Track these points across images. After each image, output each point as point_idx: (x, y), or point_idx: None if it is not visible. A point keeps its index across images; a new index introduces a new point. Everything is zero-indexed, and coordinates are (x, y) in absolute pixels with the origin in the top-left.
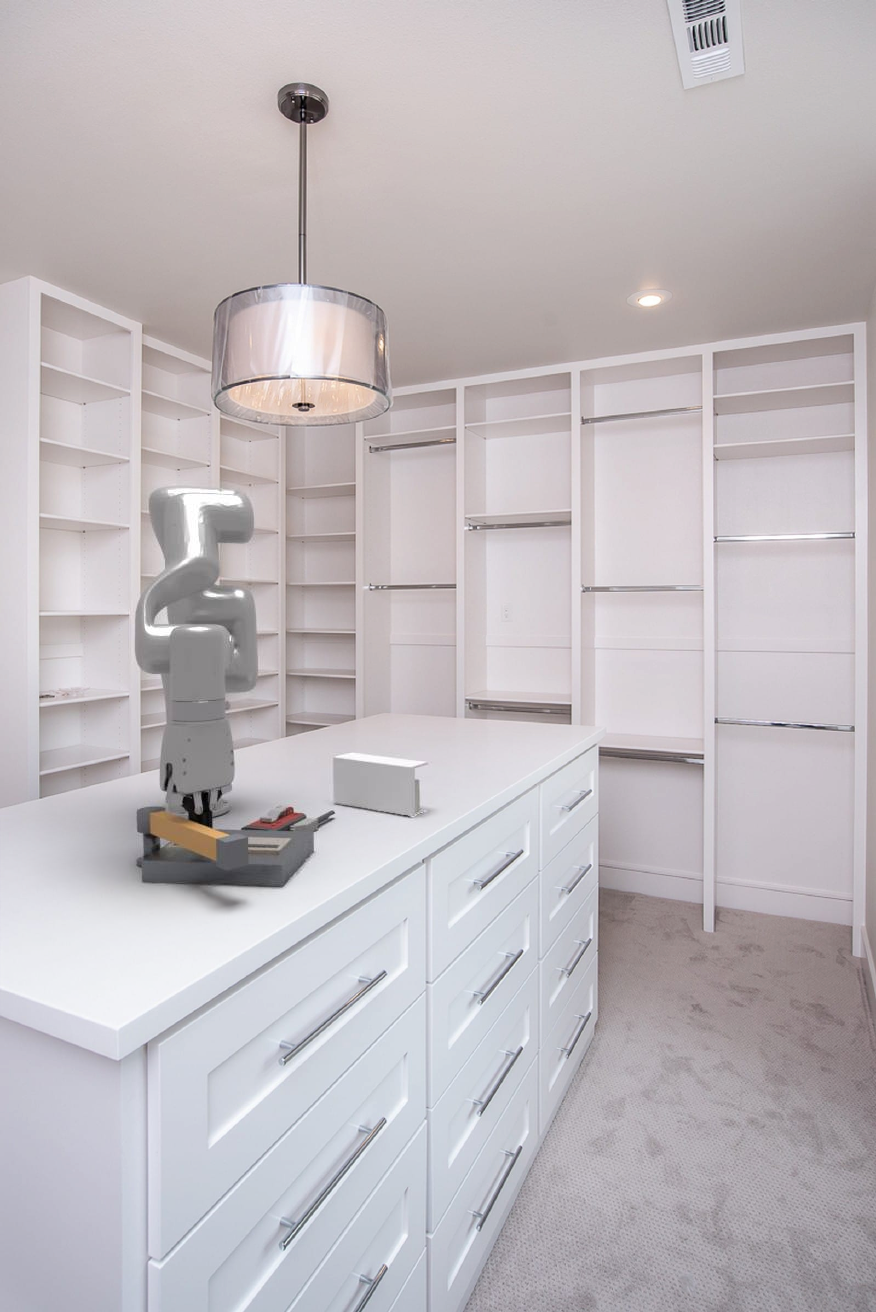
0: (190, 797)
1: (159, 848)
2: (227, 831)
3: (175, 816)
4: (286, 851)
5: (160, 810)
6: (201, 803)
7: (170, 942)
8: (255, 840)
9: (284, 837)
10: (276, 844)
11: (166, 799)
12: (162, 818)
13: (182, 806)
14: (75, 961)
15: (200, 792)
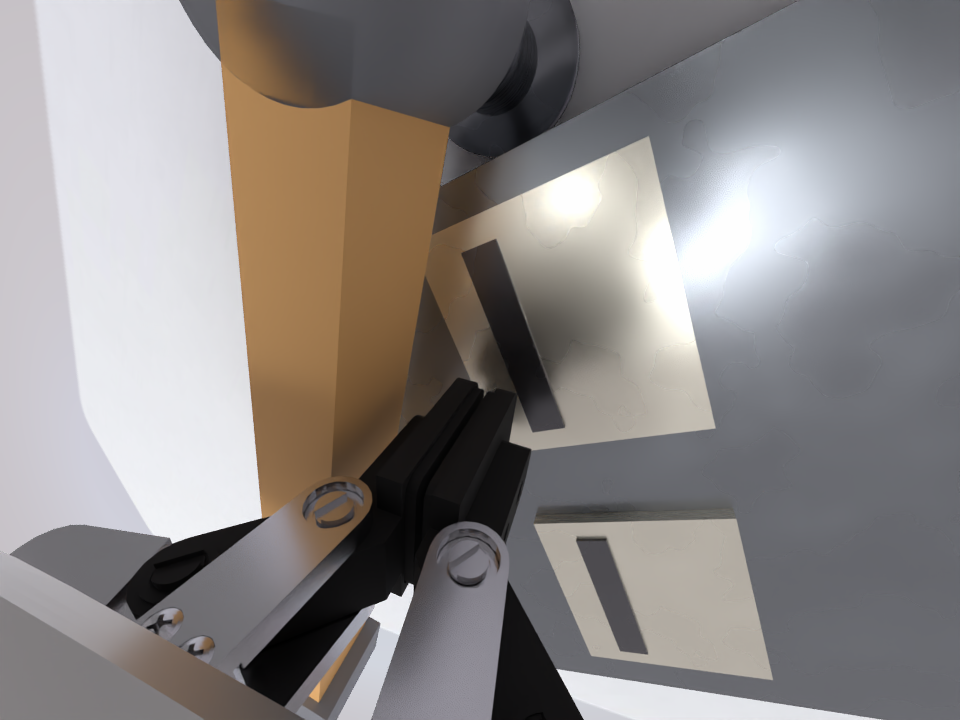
0: (277, 613)
1: (491, 101)
2: (918, 328)
3: (320, 384)
4: (619, 660)
5: (337, 64)
6: (333, 655)
7: (248, 513)
8: (686, 568)
9: (826, 639)
10: (658, 642)
11: (22, 560)
12: (247, 323)
13: (251, 526)
14: (142, 432)
15: (380, 707)
